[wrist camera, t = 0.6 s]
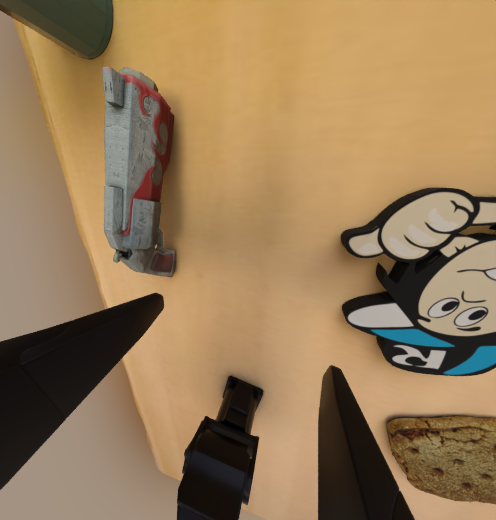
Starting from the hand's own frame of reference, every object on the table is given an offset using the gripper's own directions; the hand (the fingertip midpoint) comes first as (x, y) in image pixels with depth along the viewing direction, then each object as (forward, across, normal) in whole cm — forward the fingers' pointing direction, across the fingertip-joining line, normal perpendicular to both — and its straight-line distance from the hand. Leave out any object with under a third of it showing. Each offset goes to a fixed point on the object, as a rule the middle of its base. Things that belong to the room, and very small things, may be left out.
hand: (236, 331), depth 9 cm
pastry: (+14, -30, +23) cm, 40 cm away
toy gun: (+14, +15, -1) cm, 20 cm away
